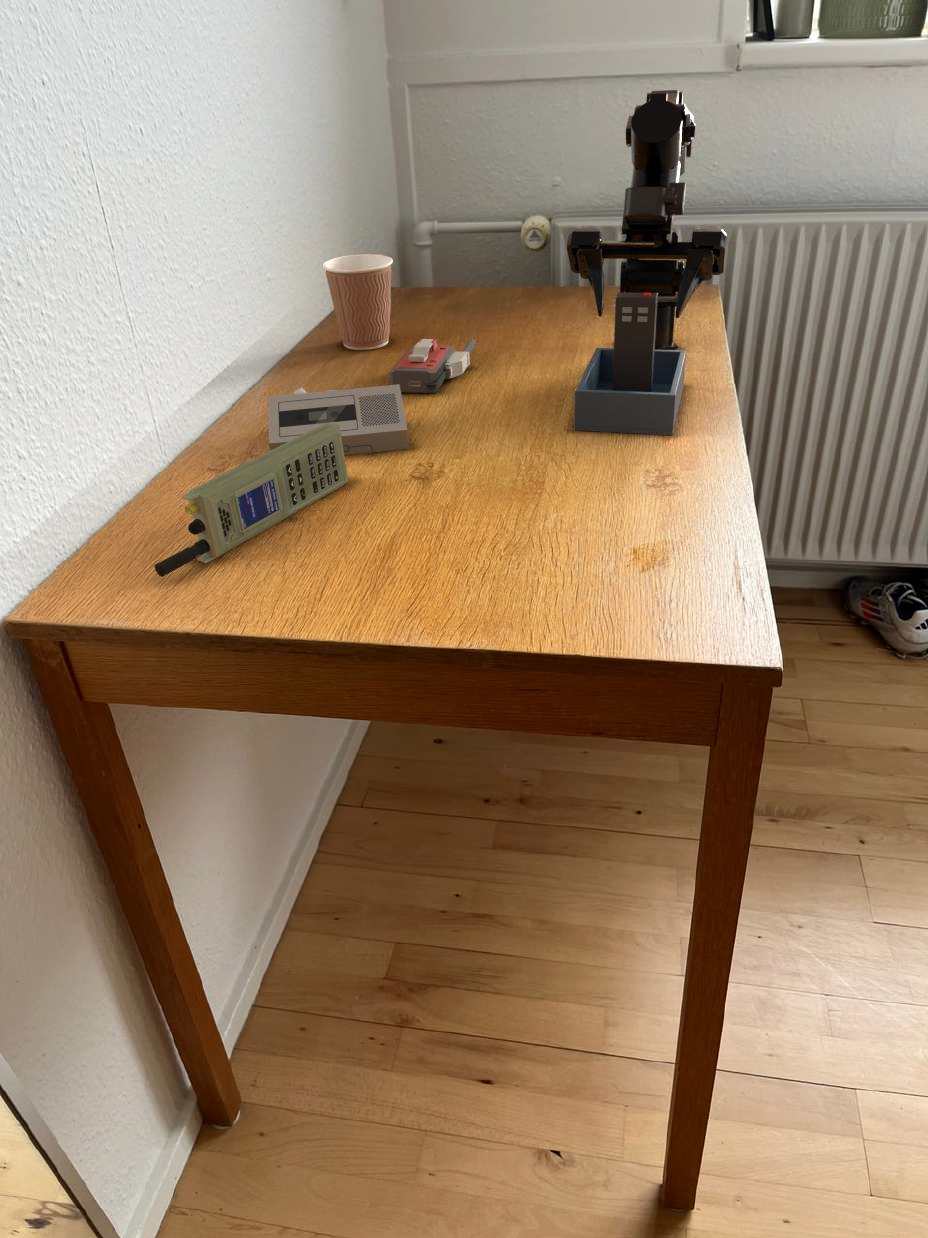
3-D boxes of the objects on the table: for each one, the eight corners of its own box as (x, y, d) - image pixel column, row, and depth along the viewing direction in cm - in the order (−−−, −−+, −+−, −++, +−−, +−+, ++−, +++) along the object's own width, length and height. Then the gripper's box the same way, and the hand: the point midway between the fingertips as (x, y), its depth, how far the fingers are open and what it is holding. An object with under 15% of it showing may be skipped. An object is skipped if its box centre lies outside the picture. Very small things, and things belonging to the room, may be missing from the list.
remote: (614, 399, 119) (618, 290, 112) (651, 400, 118) (658, 290, 110) (611, 405, 117) (615, 295, 110) (649, 407, 116) (656, 296, 109)
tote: (595, 383, 126) (596, 347, 123) (683, 387, 123) (686, 350, 120) (574, 430, 112) (574, 390, 110) (672, 435, 110) (675, 395, 107)
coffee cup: (412, 338, 147) (406, 256, 141) (372, 357, 140) (363, 272, 133) (360, 330, 152) (351, 251, 145) (318, 348, 145) (307, 266, 138)
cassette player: (269, 443, 107) (267, 391, 113) (272, 462, 109) (271, 410, 115) (407, 429, 108) (398, 379, 115) (408, 448, 110) (399, 398, 117)
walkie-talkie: (450, 397, 124) (481, 350, 140) (448, 364, 121) (480, 319, 138) (385, 396, 126) (423, 349, 142) (382, 363, 123) (421, 319, 140)
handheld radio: (354, 484, 103) (174, 588, 86) (331, 479, 104) (150, 580, 87) (344, 425, 99) (155, 520, 82) (321, 421, 101) (131, 513, 84)
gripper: (569, 156, 112) (552, 277, 109) (734, 153, 107) (720, 279, 104) (579, 214, 122) (564, 326, 120) (729, 214, 118) (717, 330, 115)
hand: (638, 315), depth 114 cm, fingers open, 9 cm apart
